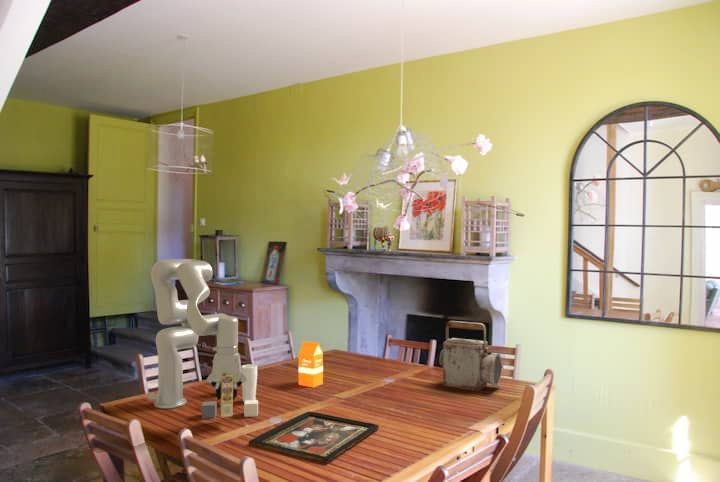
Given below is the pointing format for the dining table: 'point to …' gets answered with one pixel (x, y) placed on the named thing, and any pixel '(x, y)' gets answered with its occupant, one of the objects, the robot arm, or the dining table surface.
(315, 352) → the orange juice
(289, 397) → the dining table surface
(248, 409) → the off-white block
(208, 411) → the dark grey block
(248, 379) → the drinking glass
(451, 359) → the lantern
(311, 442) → the framed painting
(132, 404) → the dining table surface
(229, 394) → the candy box
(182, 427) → the dining table surface
